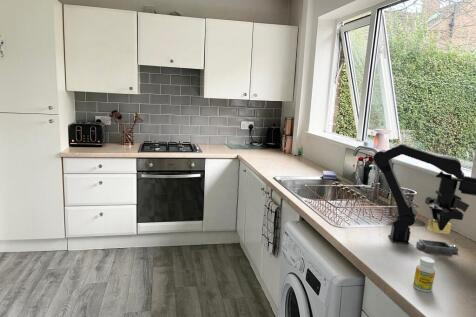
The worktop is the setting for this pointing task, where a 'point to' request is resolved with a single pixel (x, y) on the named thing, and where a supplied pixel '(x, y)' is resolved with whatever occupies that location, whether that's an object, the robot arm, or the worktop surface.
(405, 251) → the worktop surface
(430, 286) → the supplement bottle
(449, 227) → the gold block with knobs
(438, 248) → the open rectangular frame
